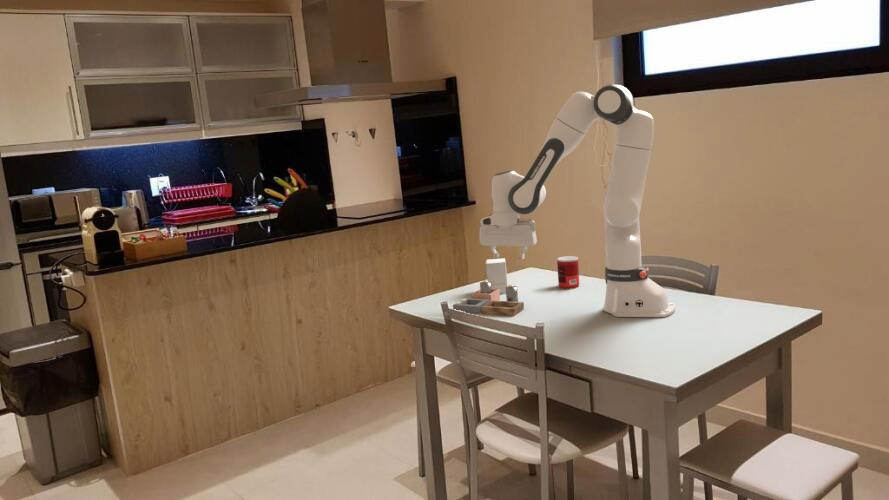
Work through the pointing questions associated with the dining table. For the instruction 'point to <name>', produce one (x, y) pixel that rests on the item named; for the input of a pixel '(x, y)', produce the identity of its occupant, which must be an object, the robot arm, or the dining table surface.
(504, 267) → the supplement box
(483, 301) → the grey square tray
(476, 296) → the pink square tray
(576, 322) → the dining table surface
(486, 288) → the cell
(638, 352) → the dining table surface
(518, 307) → the trough
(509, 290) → the cell
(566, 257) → the canned food
